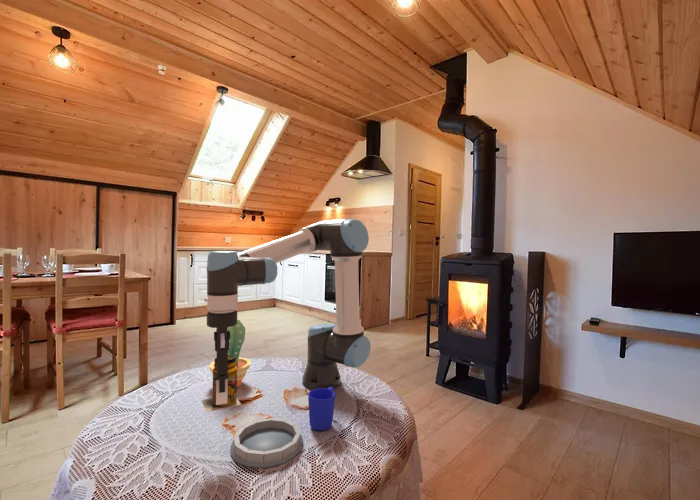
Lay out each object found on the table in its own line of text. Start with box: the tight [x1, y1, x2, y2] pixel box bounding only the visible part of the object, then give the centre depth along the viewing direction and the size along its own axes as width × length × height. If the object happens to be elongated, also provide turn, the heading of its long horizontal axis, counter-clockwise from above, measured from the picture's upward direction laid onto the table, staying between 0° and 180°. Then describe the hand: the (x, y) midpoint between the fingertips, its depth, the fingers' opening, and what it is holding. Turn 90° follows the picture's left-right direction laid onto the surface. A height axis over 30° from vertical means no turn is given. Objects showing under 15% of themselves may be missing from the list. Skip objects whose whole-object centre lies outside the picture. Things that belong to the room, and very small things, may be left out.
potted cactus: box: [208, 319, 252, 388], centre depth 133 cm, size 15×15×25 cm
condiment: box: [201, 355, 242, 413], centre depth 90 cm, size 7×8×12 cm
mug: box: [307, 387, 336, 432], centre depth 106 cm, size 8×12×10 cm
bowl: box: [230, 417, 304, 469], centre depth 93 cm, size 19×19×3 cm
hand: (221, 397), depth 90 cm, fingers closed on condiment, 6 cm apart
